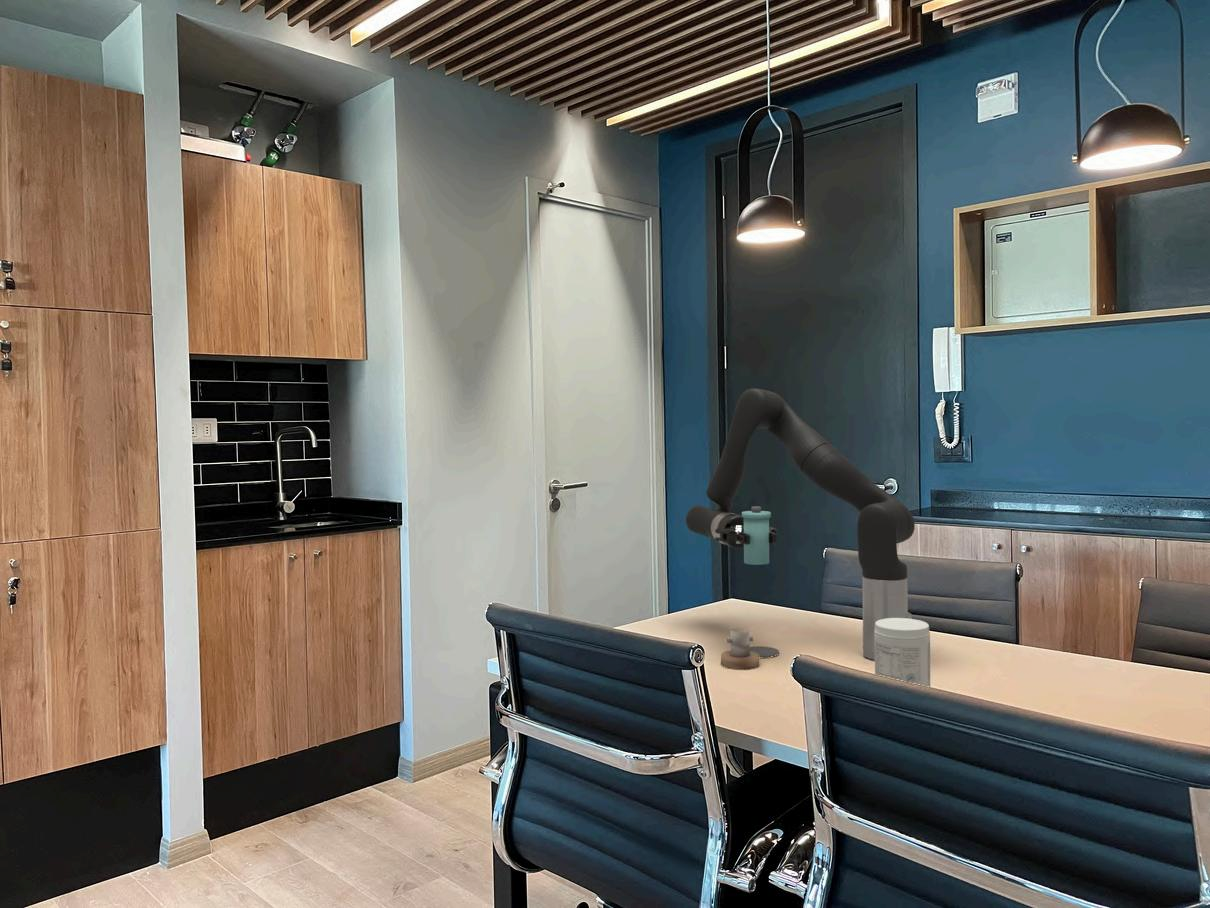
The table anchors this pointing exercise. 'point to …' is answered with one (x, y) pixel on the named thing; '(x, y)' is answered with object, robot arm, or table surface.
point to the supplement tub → (903, 650)
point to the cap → (756, 536)
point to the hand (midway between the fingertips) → (761, 539)
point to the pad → (764, 651)
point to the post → (740, 651)
